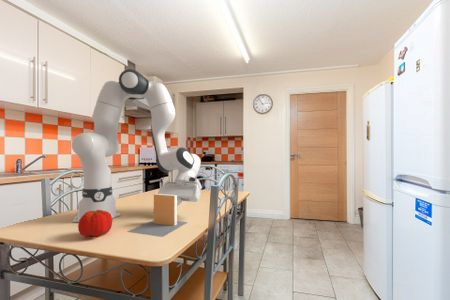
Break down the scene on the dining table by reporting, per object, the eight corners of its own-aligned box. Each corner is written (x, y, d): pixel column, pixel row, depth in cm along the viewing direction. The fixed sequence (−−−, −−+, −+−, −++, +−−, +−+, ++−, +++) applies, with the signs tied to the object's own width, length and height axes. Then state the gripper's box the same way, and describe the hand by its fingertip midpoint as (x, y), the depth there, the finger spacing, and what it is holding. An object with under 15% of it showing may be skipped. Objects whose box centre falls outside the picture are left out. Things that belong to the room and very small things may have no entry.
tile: (156, 221, 98) (156, 193, 98) (177, 224, 95) (176, 195, 95) (153, 223, 96) (153, 194, 96) (174, 225, 93) (174, 195, 93)
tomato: (77, 234, 84) (77, 210, 85) (109, 228, 91) (109, 206, 91) (79, 243, 76) (79, 217, 76) (115, 236, 82) (115, 212, 83)
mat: (156, 219, 103) (156, 218, 103) (188, 223, 97) (188, 222, 97) (126, 232, 86) (126, 231, 86) (162, 238, 80) (162, 236, 80)
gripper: (162, 177, 111) (149, 201, 102) (200, 179, 104) (190, 205, 95) (168, 185, 115) (155, 209, 106) (204, 187, 108) (195, 213, 99)
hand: (172, 207), depth 100 cm, fingers closed
